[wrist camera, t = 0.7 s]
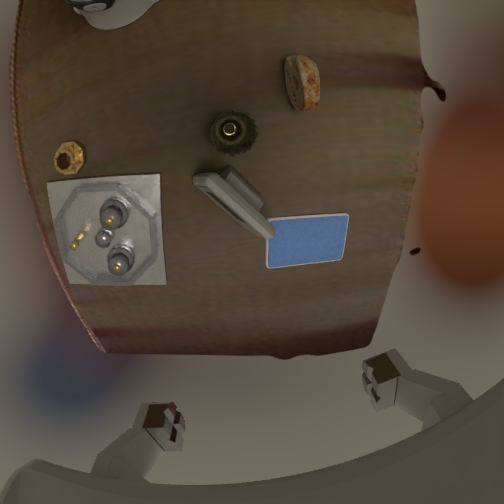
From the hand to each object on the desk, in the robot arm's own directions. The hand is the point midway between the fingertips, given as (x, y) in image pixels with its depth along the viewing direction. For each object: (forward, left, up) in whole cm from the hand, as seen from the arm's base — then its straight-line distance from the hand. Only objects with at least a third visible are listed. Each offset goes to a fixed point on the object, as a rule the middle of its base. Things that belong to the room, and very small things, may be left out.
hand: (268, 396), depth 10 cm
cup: (-6, +3, -46) cm, 46 cm away
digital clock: (+7, +3, -46) cm, 47 cm away
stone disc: (-16, +14, -46) cm, 50 cm away
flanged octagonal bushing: (-2, -28, -46) cm, 54 cm away
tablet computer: (+17, +22, -47) cm, 54 cm away
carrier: (+15, -22, -46) cm, 53 cm away
